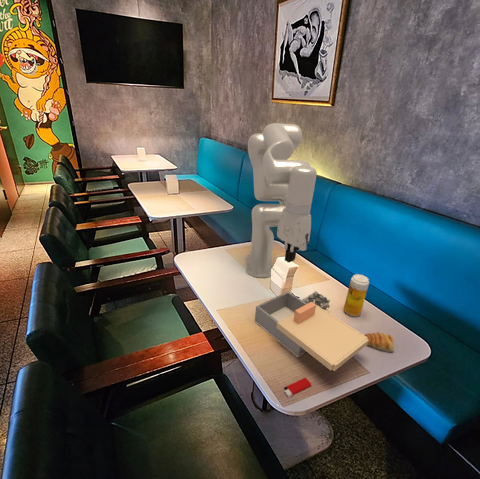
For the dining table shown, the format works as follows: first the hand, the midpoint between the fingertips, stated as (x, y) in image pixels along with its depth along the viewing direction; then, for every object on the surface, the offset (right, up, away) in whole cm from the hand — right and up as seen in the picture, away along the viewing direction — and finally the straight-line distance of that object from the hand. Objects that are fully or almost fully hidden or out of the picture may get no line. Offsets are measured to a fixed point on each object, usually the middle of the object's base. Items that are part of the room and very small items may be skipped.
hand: (289, 260), depth 99 cm
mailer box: (+1, -24, +4) cm, 24 cm away
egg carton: (+12, -19, +17) cm, 28 cm away
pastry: (+29, -28, 0) cm, 41 cm away
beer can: (+26, -21, +15) cm, 36 cm away
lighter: (-1, -34, -17) cm, 38 cm away
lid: (+9, -23, -6) cm, 25 cm away
